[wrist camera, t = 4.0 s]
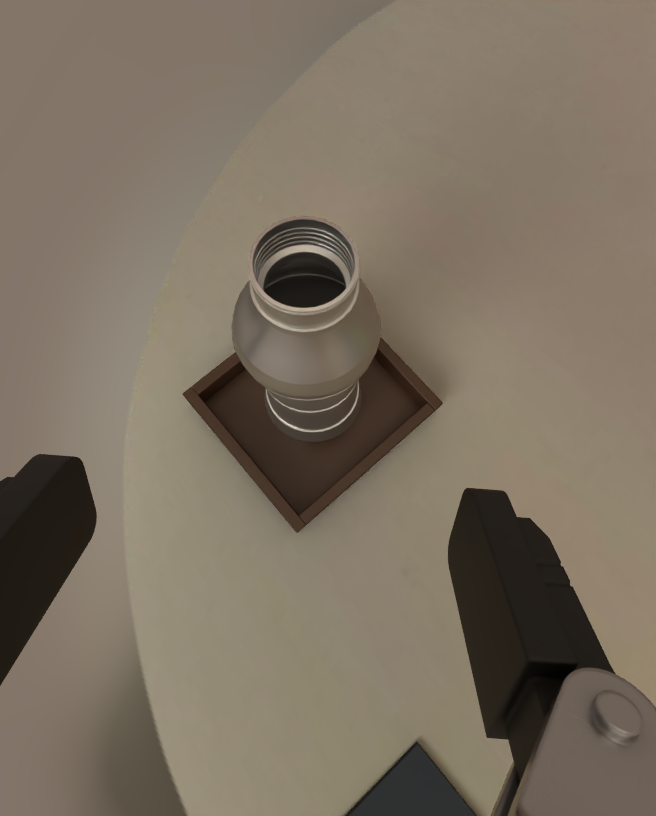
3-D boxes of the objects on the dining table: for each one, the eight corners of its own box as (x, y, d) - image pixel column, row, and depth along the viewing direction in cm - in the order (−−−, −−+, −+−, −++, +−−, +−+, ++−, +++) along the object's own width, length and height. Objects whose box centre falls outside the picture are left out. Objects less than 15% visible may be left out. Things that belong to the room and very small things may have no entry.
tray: (298, 531, 33) (296, 533, 31) (191, 402, 35) (181, 393, 33) (434, 410, 35) (443, 403, 33) (326, 295, 37) (327, 280, 35)
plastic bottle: (359, 447, 34) (411, 355, 15) (267, 447, 34) (195, 355, 14) (357, 364, 35) (403, 179, 16) (269, 363, 35) (206, 177, 16)
